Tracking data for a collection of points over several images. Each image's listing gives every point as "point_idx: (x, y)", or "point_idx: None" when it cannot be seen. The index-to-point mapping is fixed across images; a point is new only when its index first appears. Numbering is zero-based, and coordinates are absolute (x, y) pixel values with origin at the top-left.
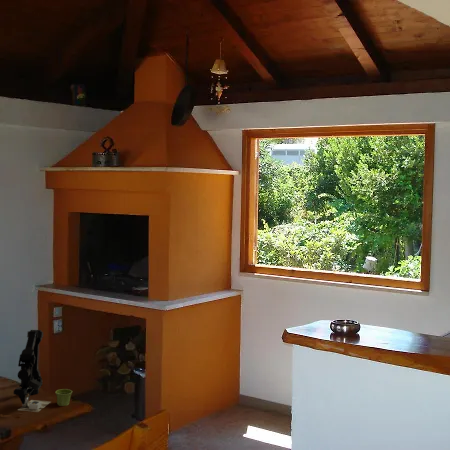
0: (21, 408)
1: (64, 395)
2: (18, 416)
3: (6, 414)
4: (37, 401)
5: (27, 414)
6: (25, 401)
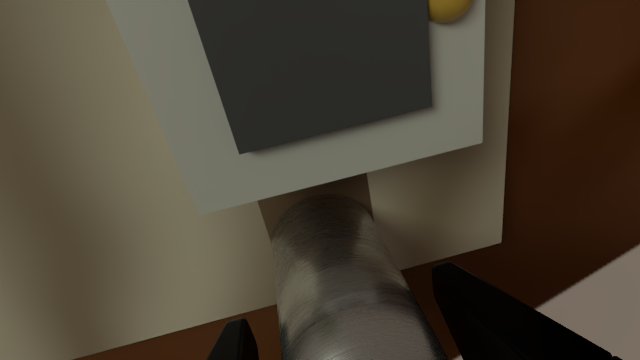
0: (413, 239)
1: None
2: (629, 96)
3: (564, 274)
4: (135, 48)
5: (515, 19)
6: (415, 305)
